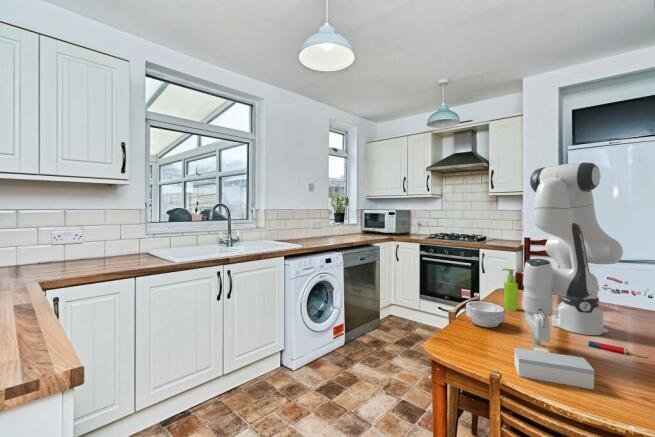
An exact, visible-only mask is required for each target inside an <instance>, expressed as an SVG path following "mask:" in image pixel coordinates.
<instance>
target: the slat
mask: <svg viewBox="0 0 655 437" xmlns="http://www.w3.org/2000/svg"><path fill="white" fill-rule="evenodd" d="M531 350H534V351H541V352H547V353H551V352H550V351H549V349H548V347H547V346H546V345H545V344H540V345H539V344H534V343H531Z"/></svg>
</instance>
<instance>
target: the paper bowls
mask: <svg viewBox="0 0 655 437" xmlns="http://www.w3.org/2000/svg"><path fill="white" fill-rule="evenodd" d="M465 308H466V309H465V315H466V317H468V318H469V319H470V320H471V322H472V323H473V324H475V325H477V326H478V327H483V328H496V327H498V326H499V325H500V323H501V324H502V323H504V322H505V319H506V309H504V306H501V305H499V304H496V303H493V302H487V301H480V300H479V301H478V300H477V301H475V300H474V301H468V302H467V303H466V304H465Z"/></svg>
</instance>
